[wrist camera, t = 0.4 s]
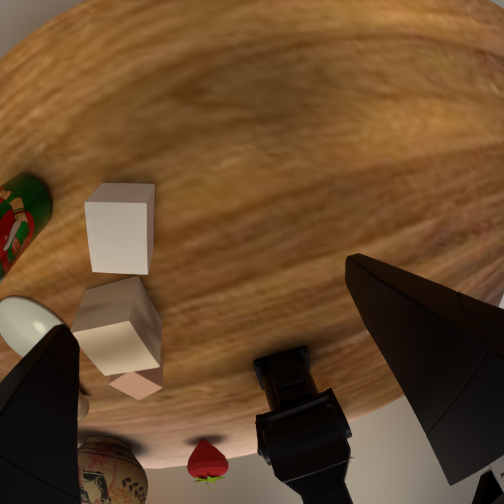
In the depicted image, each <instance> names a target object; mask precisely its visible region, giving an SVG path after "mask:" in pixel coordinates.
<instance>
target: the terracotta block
mask: <svg viewBox="0 0 504 504" xmlns="http://www.w3.org/2000/svg"><path fill="white" fill-rule="evenodd" d="M109 385H111V386H113V387H115V388H117V389H118V390H120V391H122V392H124V393H126V394H128V395H130V396H132V397H134V398H136V399H138V400H141V399H142V398H144V397H146V396H148V395H150V394H152V393H154V392H156V391H158V390H160V389H162V388H163V358H162V357H161V356H160V367H157V368H151V369H145V370H139V371H133V372H127V373H120V374H113V375H110V378H109Z"/></svg>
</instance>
